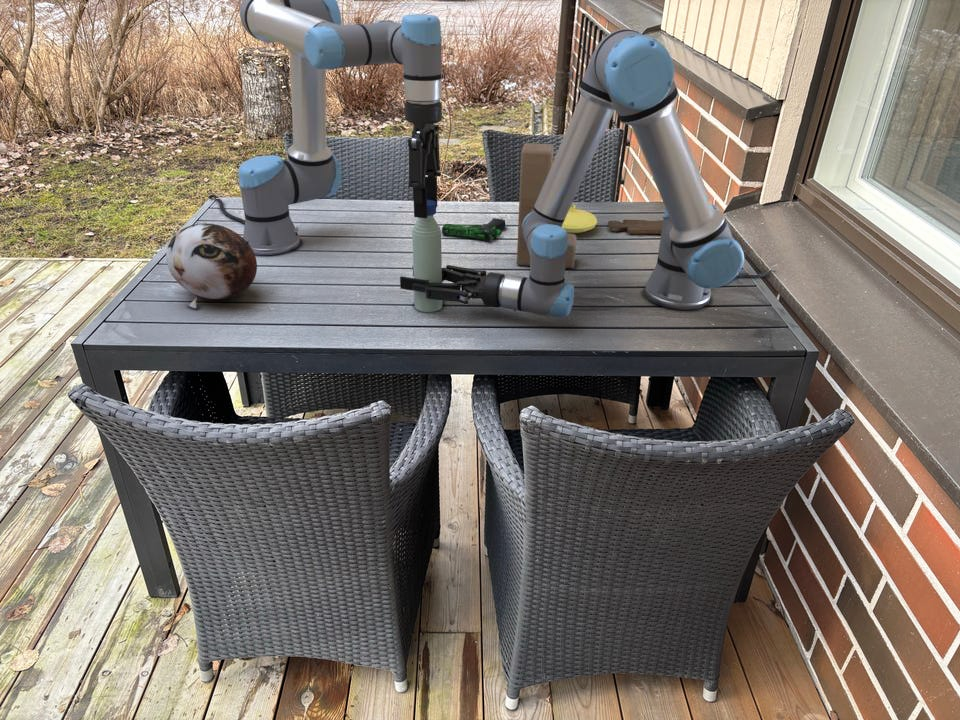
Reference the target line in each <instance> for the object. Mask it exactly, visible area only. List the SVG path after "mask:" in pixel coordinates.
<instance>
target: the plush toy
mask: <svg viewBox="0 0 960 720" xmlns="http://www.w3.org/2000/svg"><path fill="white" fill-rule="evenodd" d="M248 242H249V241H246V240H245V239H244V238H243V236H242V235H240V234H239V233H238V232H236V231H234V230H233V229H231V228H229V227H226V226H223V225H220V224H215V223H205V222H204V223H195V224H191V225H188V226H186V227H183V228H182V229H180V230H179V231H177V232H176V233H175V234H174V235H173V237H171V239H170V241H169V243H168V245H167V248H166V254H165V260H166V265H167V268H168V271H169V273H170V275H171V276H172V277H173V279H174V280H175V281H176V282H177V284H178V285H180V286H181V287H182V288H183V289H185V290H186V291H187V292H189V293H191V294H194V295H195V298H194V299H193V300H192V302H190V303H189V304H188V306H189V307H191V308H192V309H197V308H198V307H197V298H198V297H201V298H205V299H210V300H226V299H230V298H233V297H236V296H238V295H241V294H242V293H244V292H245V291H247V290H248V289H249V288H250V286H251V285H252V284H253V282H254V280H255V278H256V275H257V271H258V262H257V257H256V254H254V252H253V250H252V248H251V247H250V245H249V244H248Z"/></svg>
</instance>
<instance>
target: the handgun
mask: <svg viewBox="0 0 960 720" xmlns="http://www.w3.org/2000/svg"><path fill="white" fill-rule="evenodd" d="M505 228H506V220H505V219H503V218H497V217H492V219H491V220H490V221H489V222H488V223H483V224H482V225H479V224H472V225H459V224H453V223H445V224H443V226H442V227H441V235H446V236H454V237H462V238H469V239H470V238H471V239H474V240H479V241H484V242H491V241H492V240H494V239H495V238H497V237H500V236H502V230H504V229H505Z"/></svg>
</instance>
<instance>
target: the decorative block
mask: <svg viewBox="0 0 960 720" xmlns="http://www.w3.org/2000/svg"><path fill="white" fill-rule="evenodd" d="M554 149H555V147H554V145H553V144H551V143H533V142H526V143H524V144H523V146H522V149H521V154H520V174H519V175H520V176H519V178H520V179H519V199H518V218H517V219H518V220H517V224H518V225H517V244H516V248H517V249H516V265H518V266H529V267H530V254H529V251H528V248H527V245H526V242H525V240H524V237H523V235H522V223H523V220H524V218H525V217H526V216H527V215H528V214H529V213H531V212H532V210H533V208H534V205H535V203H536V201H537V198H538V196H539V193H540V191H541V189H542V186H543V184H544V182H545V179H546V177H547V175H548V172H549V170H550V168H551V165H552V163H553V160H554ZM567 234H568V238H567V243H568V249H567V255H566V266H565V269H574V267H575V262H576V261H575V260H576V250H577V235H576V234H575V233H567Z"/></svg>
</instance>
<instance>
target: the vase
mask: <svg viewBox="0 0 960 720" xmlns="http://www.w3.org/2000/svg"><path fill="white" fill-rule="evenodd" d="M597 223H598V219H597V217H596V215H595V214H593V213H591V212H589V211H587V210H584V209H578V208H576V205H575V204H573V203H572V204H571V207H570V209H569V211H568V213H567V215H566V218H565V220H564V222H563V225H562V227H561V228H564V229H565V230H566V231H567V233H569V234H580V233H584V232H585V233H586V232H587V231H591V230H592V229H594V228H596V226H597Z"/></svg>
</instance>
